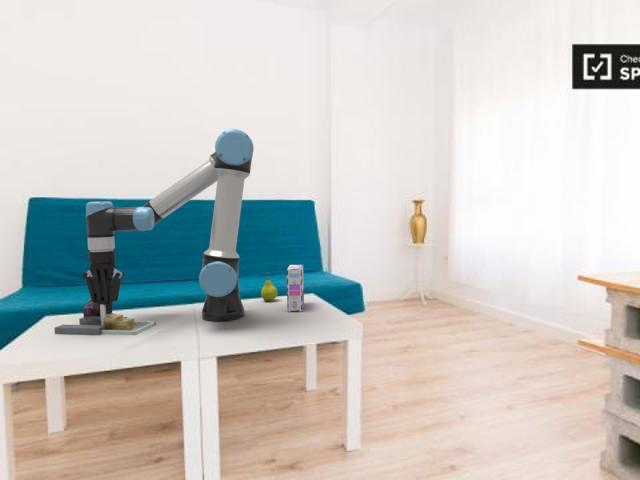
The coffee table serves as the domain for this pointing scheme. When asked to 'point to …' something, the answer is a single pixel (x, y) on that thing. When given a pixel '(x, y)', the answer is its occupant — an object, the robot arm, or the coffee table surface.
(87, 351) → the coffee table surface
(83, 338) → the coffee table surface
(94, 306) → the rock
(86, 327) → the rail
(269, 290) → the fruit
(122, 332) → the tray
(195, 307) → the coffee table surface
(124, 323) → the brass block
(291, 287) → the candy box
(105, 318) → the brass block
